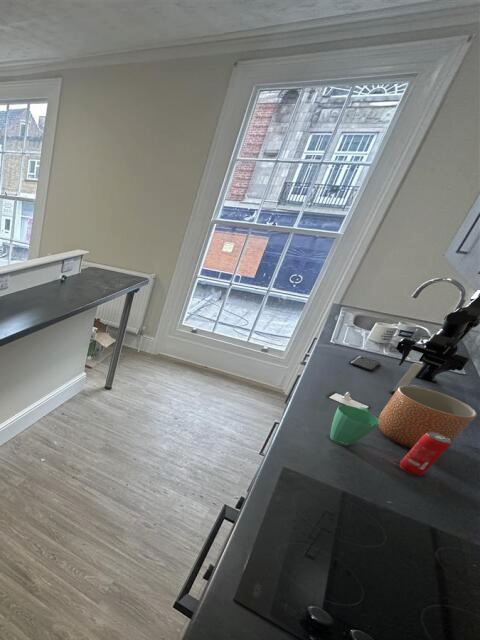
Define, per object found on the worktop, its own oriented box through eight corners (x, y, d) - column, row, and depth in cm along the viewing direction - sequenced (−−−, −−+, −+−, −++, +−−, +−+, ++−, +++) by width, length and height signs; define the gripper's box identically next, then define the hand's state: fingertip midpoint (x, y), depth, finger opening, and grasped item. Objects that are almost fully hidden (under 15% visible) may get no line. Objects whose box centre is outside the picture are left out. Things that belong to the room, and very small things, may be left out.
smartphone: (350, 362, 174) (360, 355, 182) (349, 363, 174) (359, 356, 182) (371, 369, 169) (381, 362, 177) (370, 371, 169) (380, 363, 177)
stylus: (393, 391, 155) (415, 362, 148) (400, 395, 153) (423, 365, 147) (390, 393, 154) (413, 363, 147) (398, 396, 152) (421, 366, 146)
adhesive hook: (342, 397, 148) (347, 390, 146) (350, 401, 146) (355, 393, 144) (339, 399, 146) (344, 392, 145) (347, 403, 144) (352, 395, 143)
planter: (438, 441, 127) (473, 402, 120) (442, 466, 116) (481, 424, 109) (370, 417, 137) (398, 379, 129) (367, 438, 126) (398, 398, 118)
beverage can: (392, 463, 116) (420, 431, 109) (408, 463, 116) (436, 431, 110) (411, 476, 111) (441, 443, 105) (427, 476, 112) (457, 443, 106)
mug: (355, 455, 118) (375, 428, 112) (316, 437, 124) (334, 411, 119) (367, 438, 126) (387, 413, 120) (330, 422, 132) (347, 397, 127)
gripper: (416, 317, 150) (388, 348, 151) (488, 337, 137) (456, 371, 138) (410, 334, 158) (382, 363, 159) (476, 354, 145) (446, 386, 145)
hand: (415, 370), depth 150 cm, fingers open, 9 cm apart
